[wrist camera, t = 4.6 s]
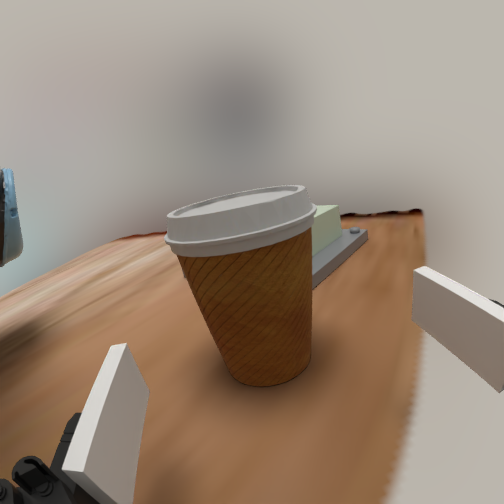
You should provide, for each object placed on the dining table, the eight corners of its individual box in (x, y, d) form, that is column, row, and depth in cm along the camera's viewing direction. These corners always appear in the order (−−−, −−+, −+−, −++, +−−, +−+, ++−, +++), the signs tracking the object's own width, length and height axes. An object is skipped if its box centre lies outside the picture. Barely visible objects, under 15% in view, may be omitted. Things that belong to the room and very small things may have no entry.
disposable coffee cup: (306, 314, 26) (286, 181, 23) (354, 375, 17) (341, 188, 14) (204, 341, 25) (166, 208, 22) (212, 418, 16) (146, 231, 13)
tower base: (184, 277, 43) (173, 238, 41) (267, 235, 57) (262, 205, 55) (300, 299, 30) (291, 243, 28) (368, 239, 43) (364, 200, 41)
